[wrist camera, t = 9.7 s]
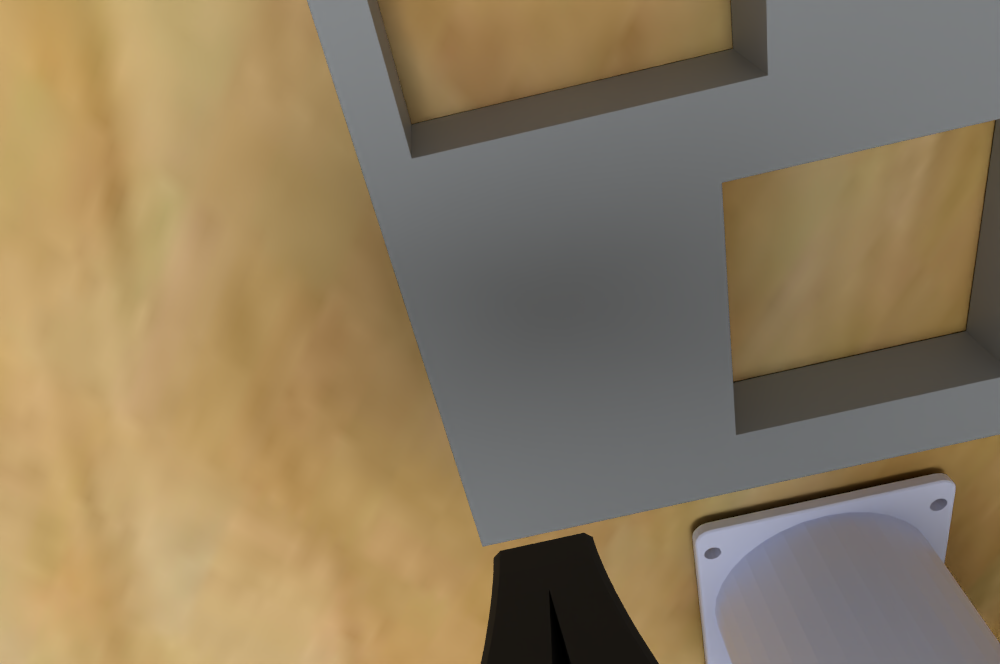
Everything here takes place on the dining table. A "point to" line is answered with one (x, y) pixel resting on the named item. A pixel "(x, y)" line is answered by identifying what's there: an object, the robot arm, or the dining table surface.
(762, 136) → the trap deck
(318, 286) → the dining table surface
